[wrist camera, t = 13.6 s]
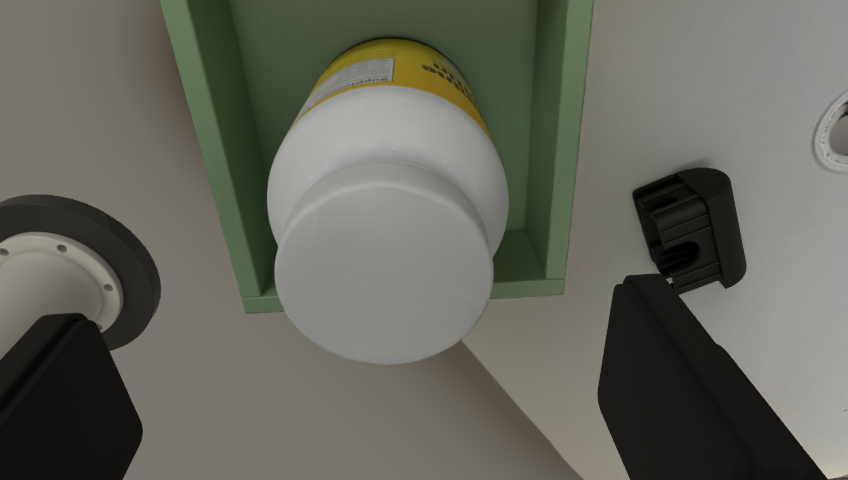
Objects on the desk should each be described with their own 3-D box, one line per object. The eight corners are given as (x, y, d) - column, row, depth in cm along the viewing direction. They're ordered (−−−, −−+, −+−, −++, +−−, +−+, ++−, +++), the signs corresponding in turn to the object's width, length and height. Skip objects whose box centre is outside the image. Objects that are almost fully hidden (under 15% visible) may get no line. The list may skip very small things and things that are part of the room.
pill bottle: (474, 186, 23) (530, 387, 13) (324, 195, 23) (264, 404, 13) (474, 26, 20) (549, 129, 10) (298, 36, 20) (191, 151, 10)
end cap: (722, 239, 54) (761, 277, 48) (653, 265, 55) (682, 306, 50) (704, 155, 49) (745, 186, 43) (629, 186, 51) (659, 221, 45)
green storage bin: (269, 253, 25) (245, 314, 21) (199, -54, 19) (144, -48, 15) (538, 237, 25) (564, 295, 21) (560, -74, 19) (602, -74, 15)
